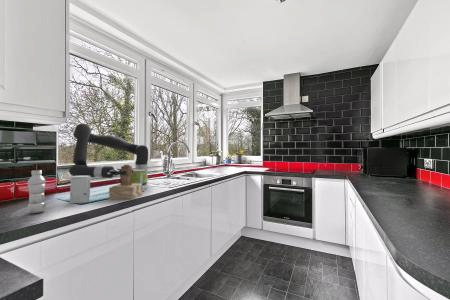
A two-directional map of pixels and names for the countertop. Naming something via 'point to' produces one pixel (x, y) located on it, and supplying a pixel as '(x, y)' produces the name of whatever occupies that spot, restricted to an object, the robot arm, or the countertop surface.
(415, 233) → the countertop surface
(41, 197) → the plastic bottle
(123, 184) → the walnut block
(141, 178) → the tea box
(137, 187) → the plinth
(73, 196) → the skincare box
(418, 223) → the countertop surface
